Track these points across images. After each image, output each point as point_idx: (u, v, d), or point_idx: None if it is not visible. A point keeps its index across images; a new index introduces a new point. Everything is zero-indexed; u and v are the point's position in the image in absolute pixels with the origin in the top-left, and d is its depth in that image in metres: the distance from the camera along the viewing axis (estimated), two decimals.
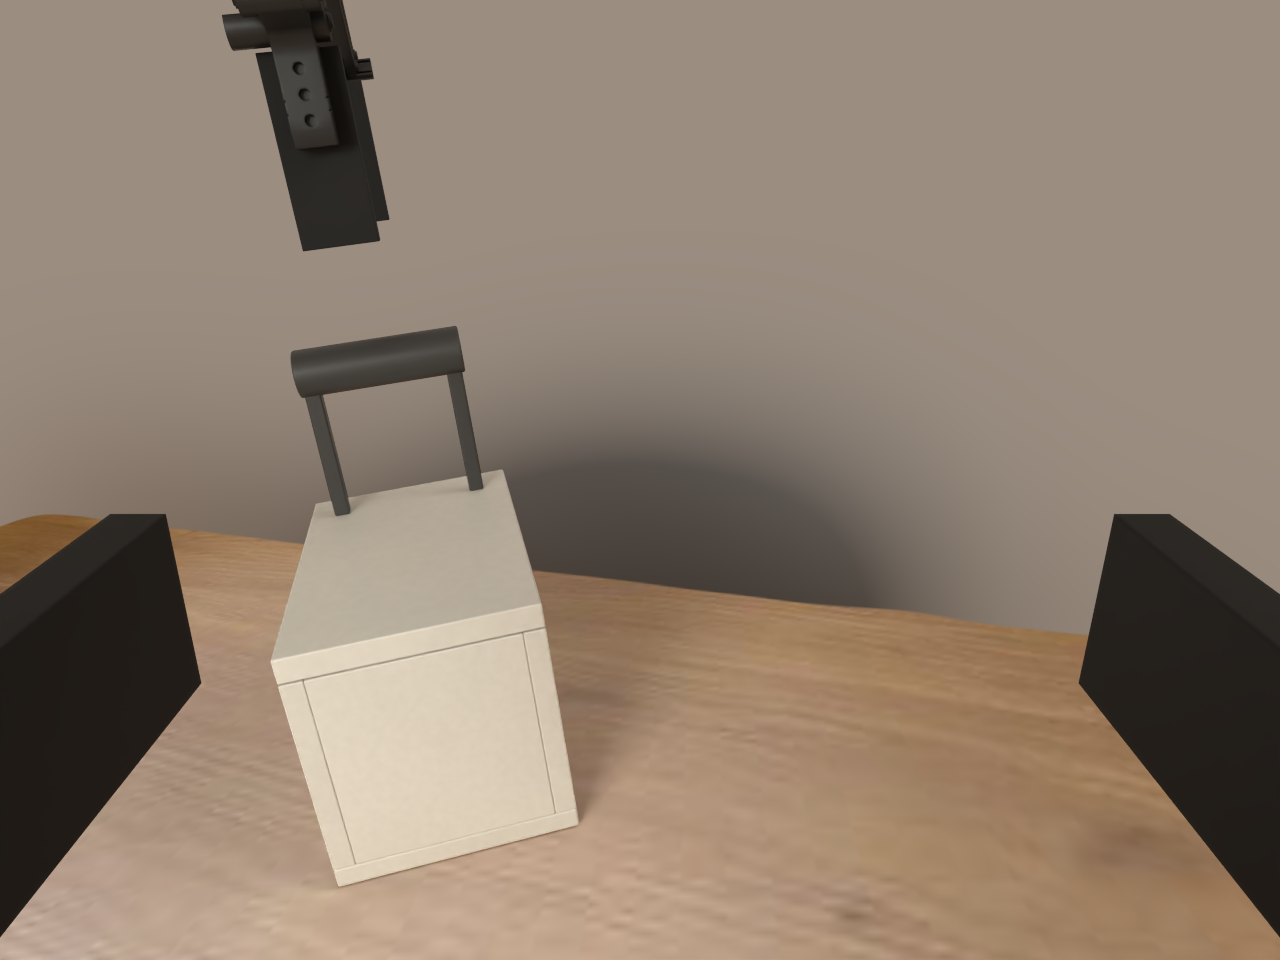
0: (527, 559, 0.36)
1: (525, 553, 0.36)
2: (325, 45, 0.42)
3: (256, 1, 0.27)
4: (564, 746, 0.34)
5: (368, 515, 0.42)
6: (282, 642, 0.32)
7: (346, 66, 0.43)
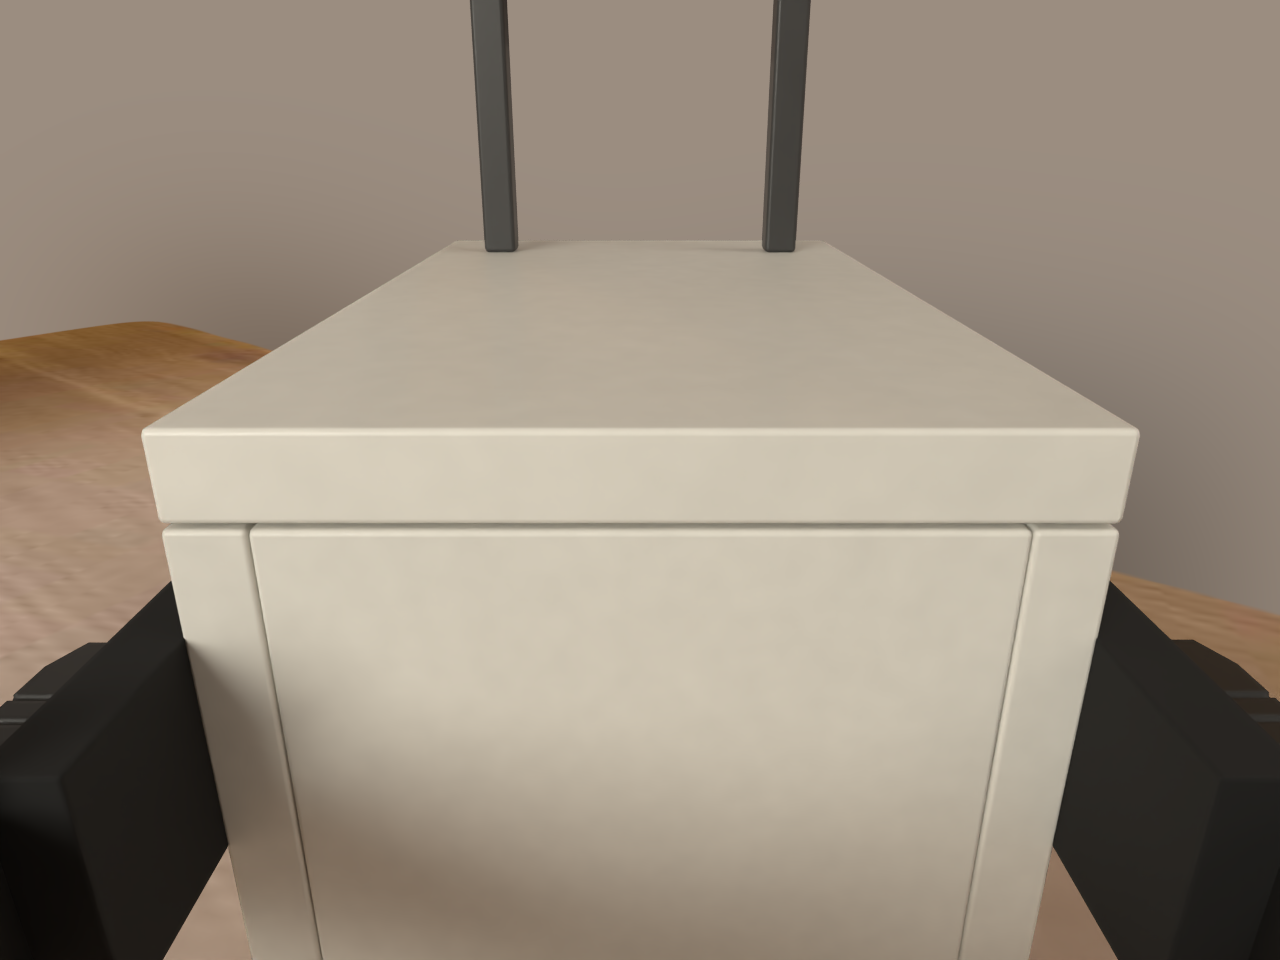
0: (985, 338, 0.12)
1: (969, 329, 0.13)
2: None
3: None
4: (1030, 929, 0.11)
5: (550, 256, 0.20)
6: (220, 394, 0.09)
7: None
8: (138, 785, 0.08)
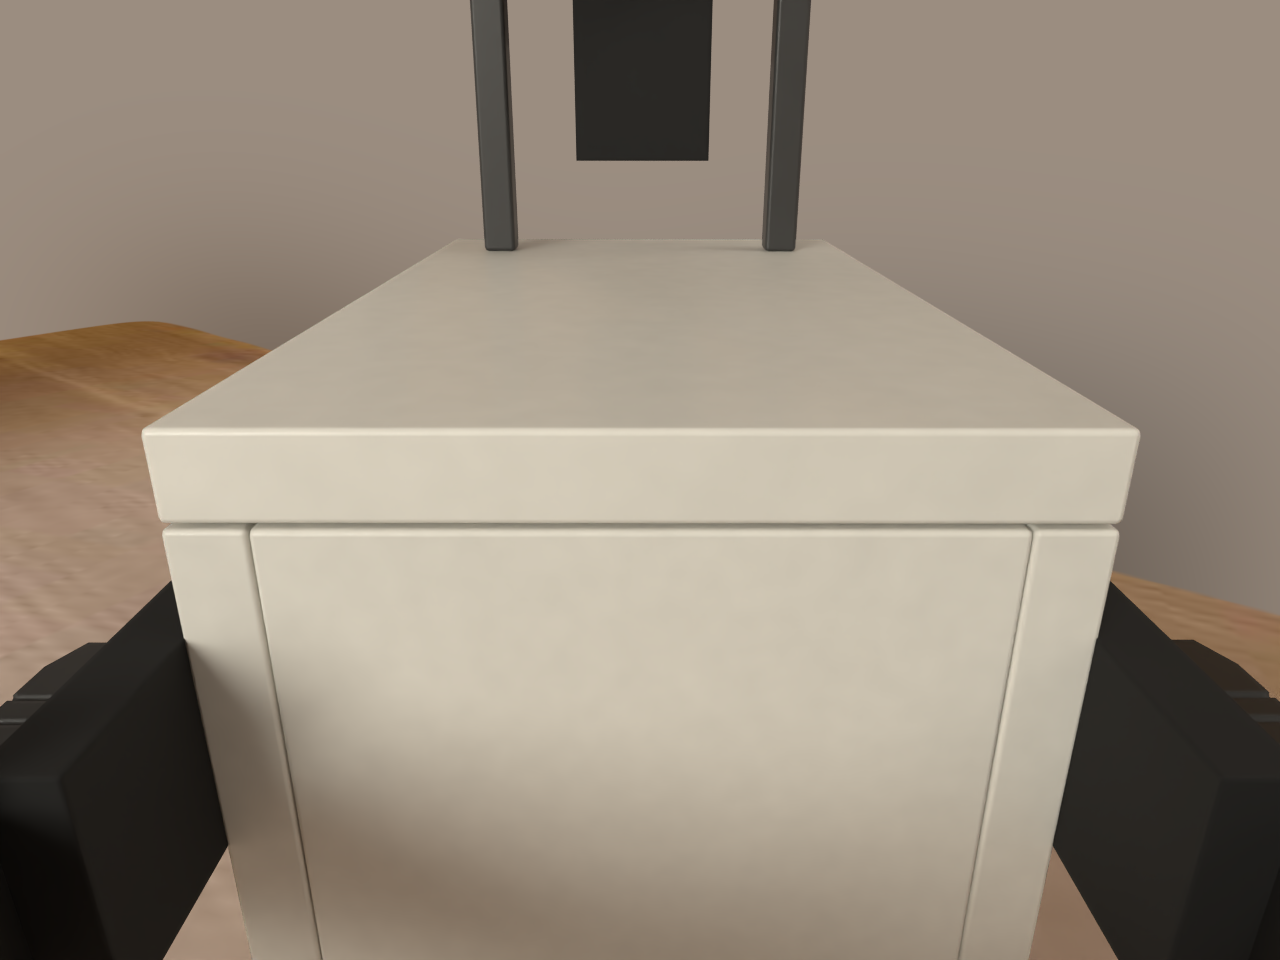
0: (986, 338, 0.12)
1: (969, 329, 0.13)
2: None
3: None
4: (1030, 930, 0.11)
5: (550, 255, 0.20)
6: (220, 393, 0.09)
7: None
8: (138, 785, 0.08)
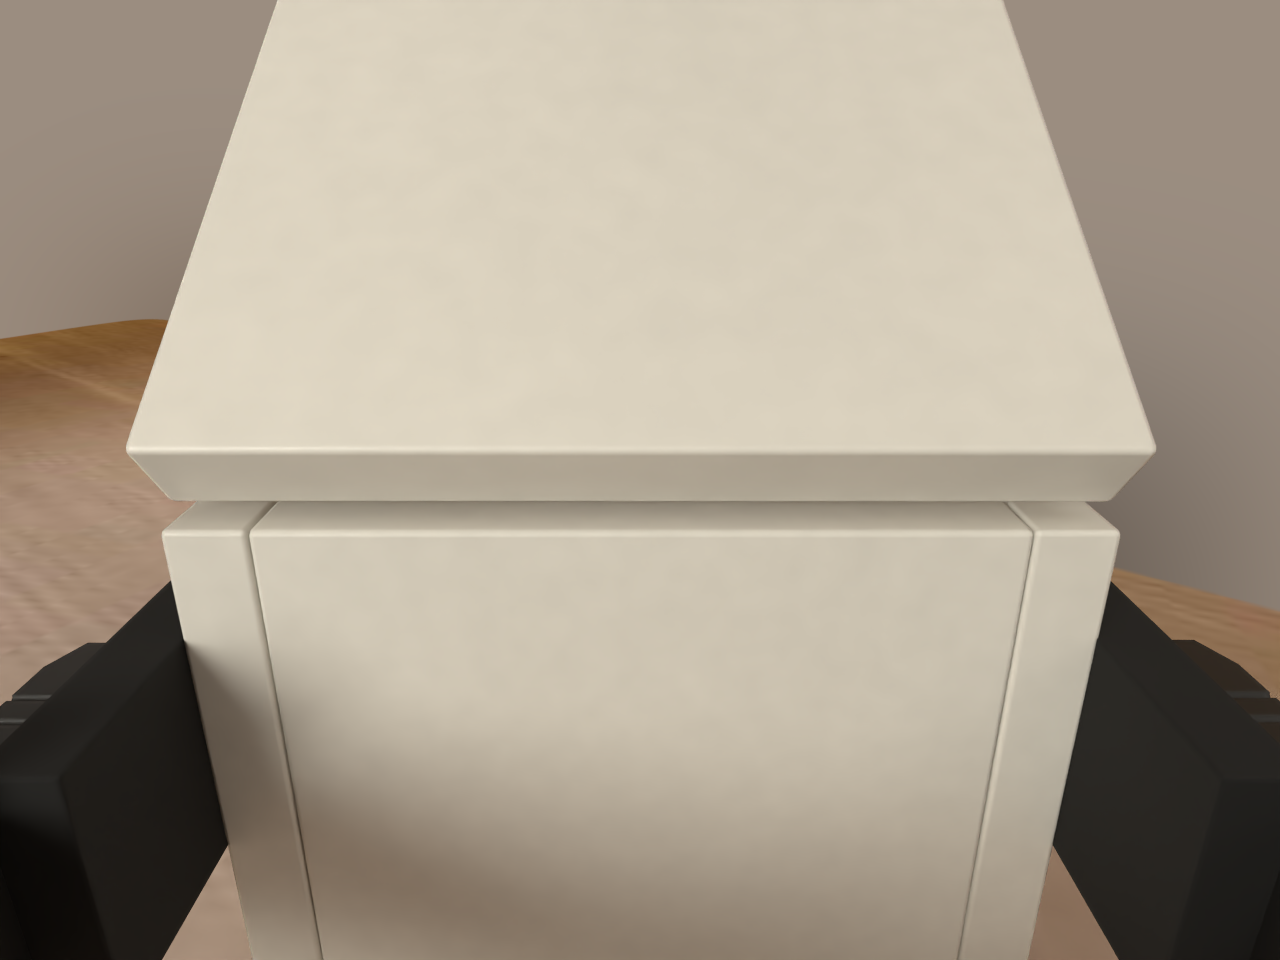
0: (1053, 153, 0.10)
1: (1040, 118, 0.10)
2: None
3: None
4: (1030, 928, 0.11)
5: None
6: (183, 347, 0.09)
7: None
8: (137, 786, 0.08)
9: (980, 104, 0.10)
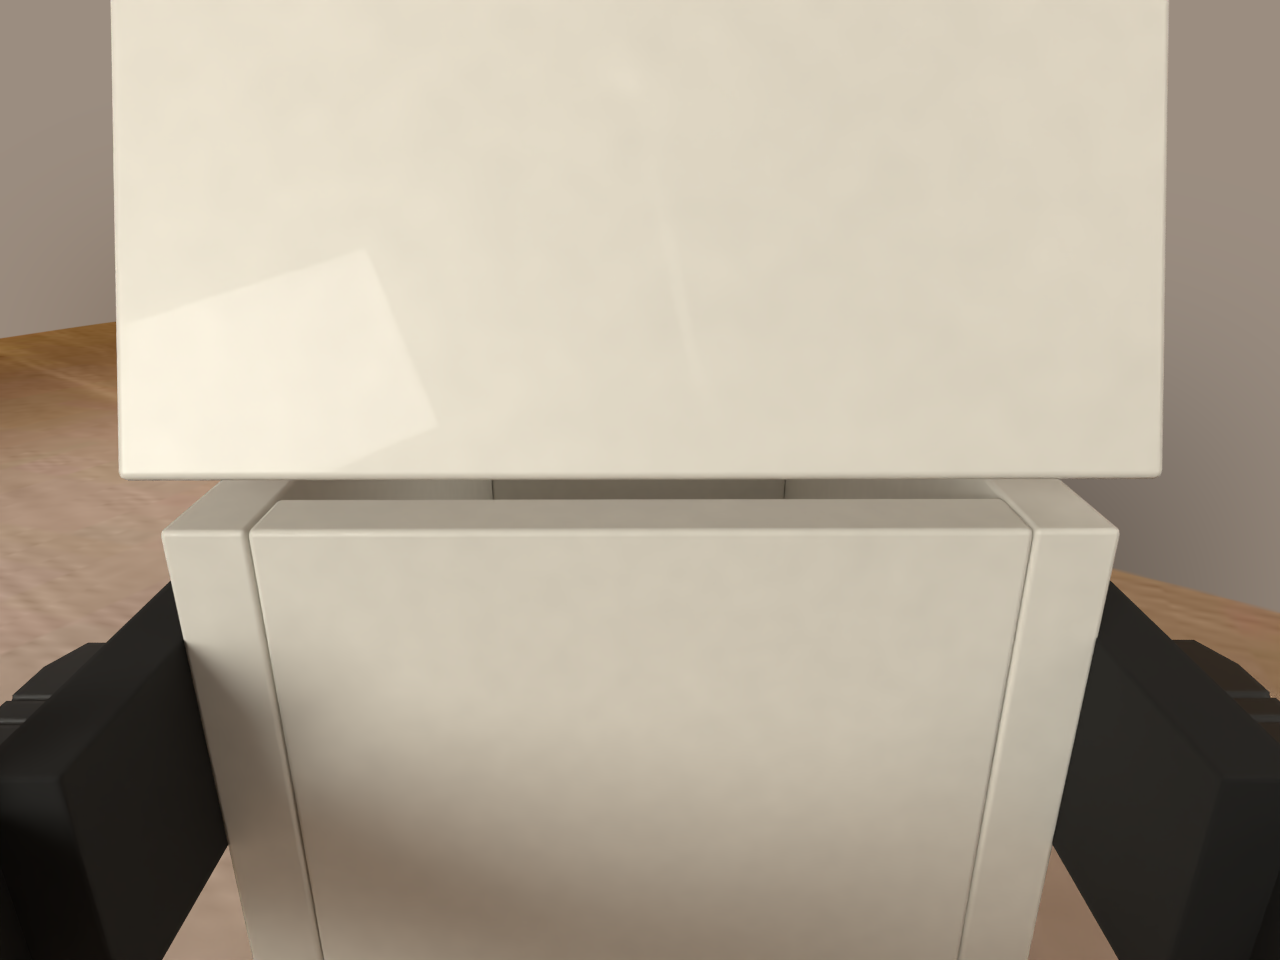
0: (1164, 31, 0.08)
1: None
2: None
3: None
4: (1030, 926, 0.11)
5: None
6: (142, 347, 0.08)
7: None
8: (138, 785, 0.08)
9: None
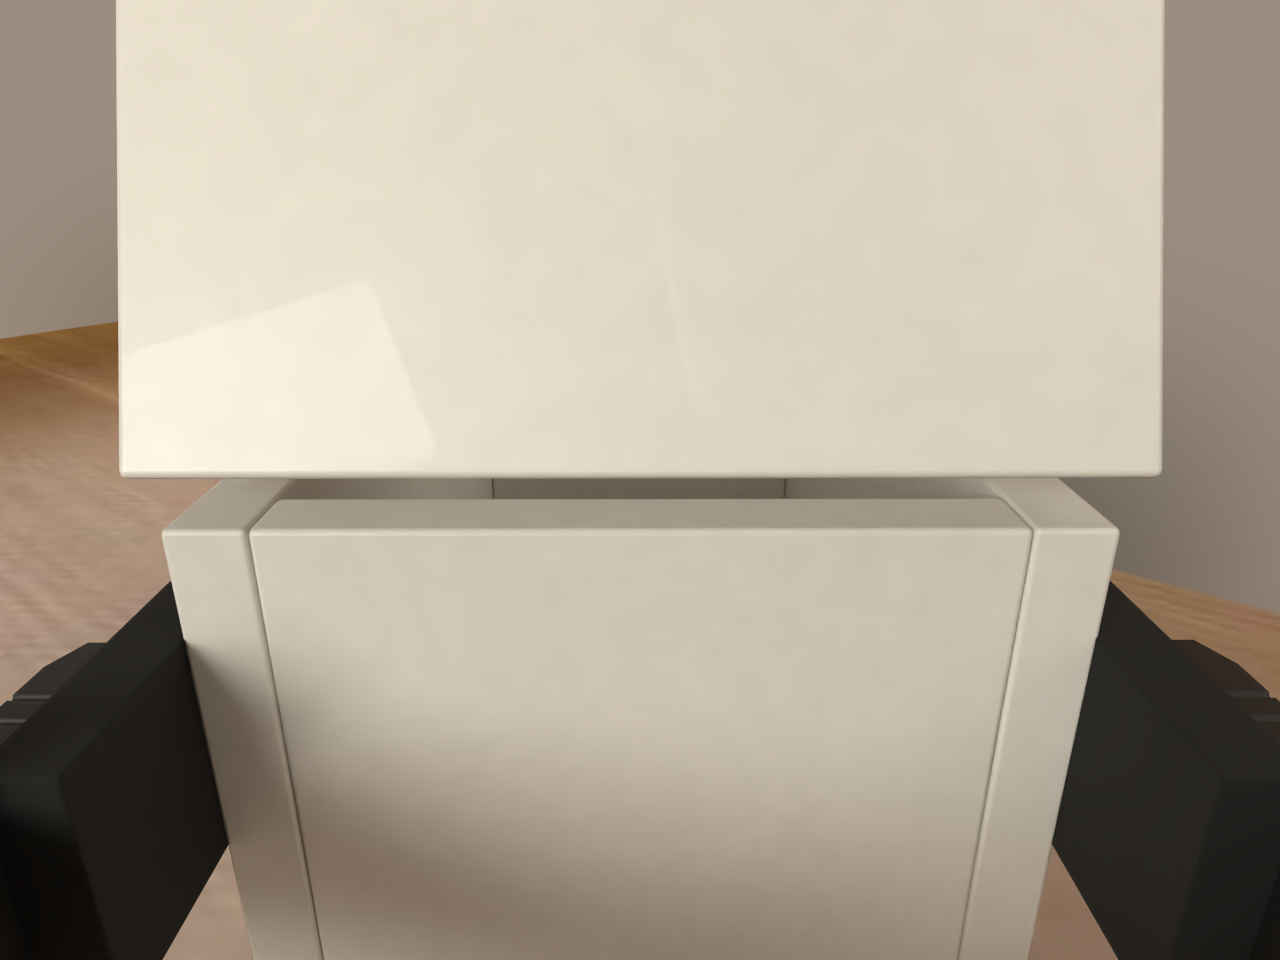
0: (1160, 34, 0.08)
1: None
2: None
3: None
4: (1030, 926, 0.11)
5: None
6: (144, 345, 0.08)
7: None
8: (138, 786, 0.08)
9: None
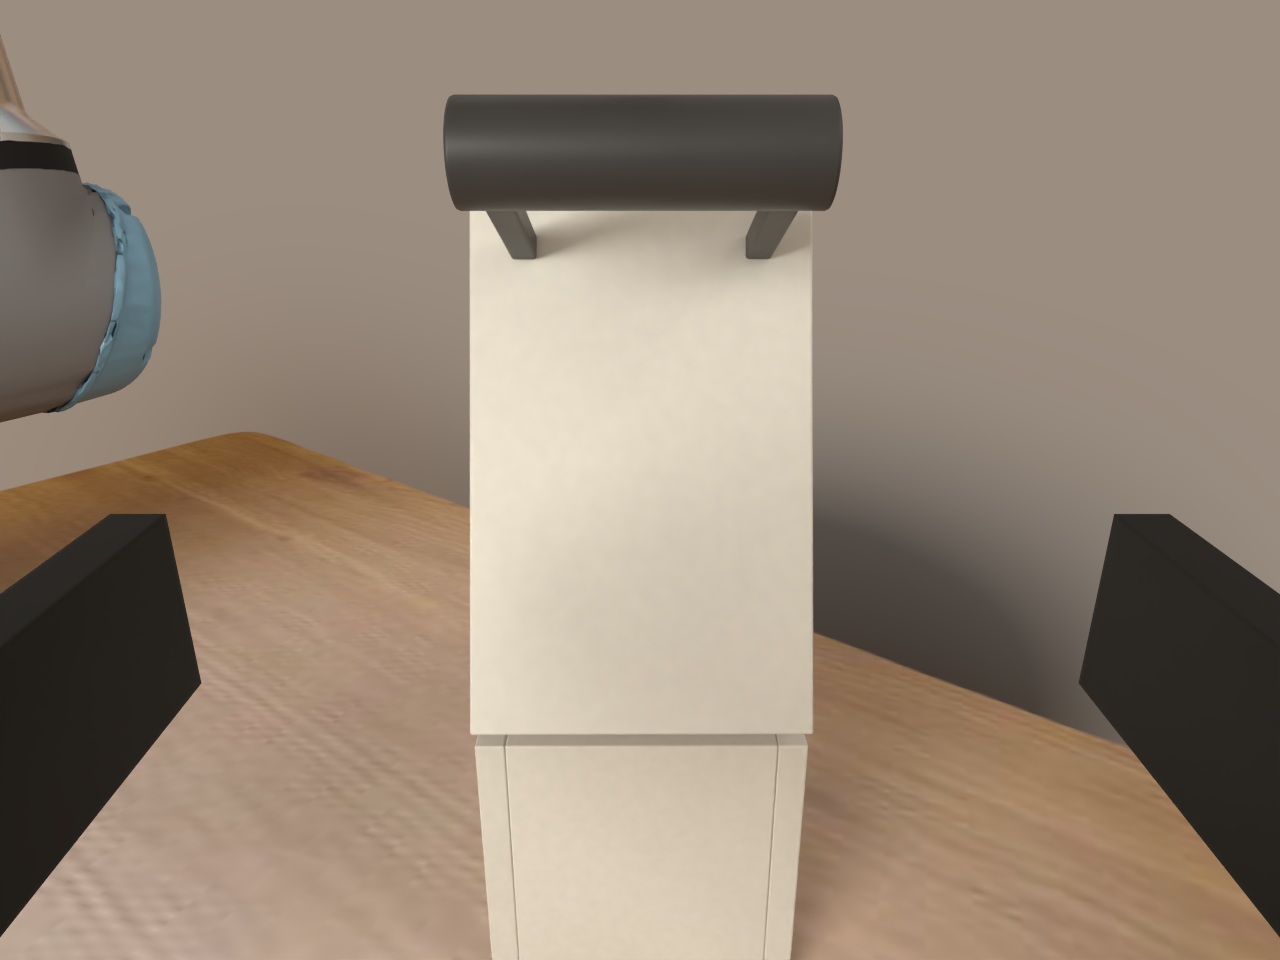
0: (811, 589, 0.25)
1: (810, 567, 0.25)
2: None
3: None
4: (794, 887, 0.27)
5: (568, 282, 0.25)
6: (479, 692, 0.24)
7: None
8: None
9: (787, 559, 0.24)
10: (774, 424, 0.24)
